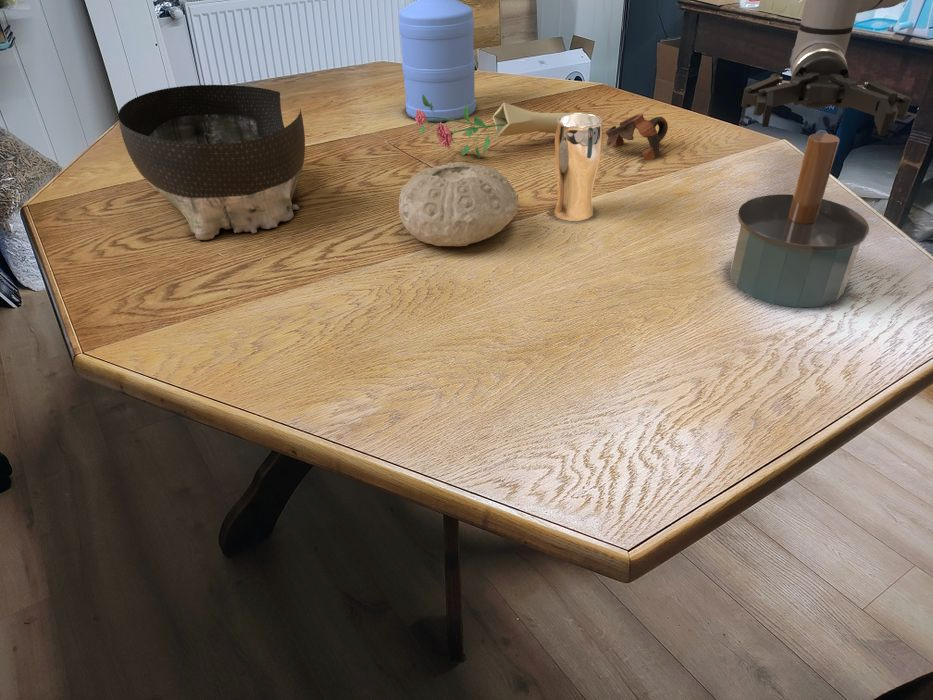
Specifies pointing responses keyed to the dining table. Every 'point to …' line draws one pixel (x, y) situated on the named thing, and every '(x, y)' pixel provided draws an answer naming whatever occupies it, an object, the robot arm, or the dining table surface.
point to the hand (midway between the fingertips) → (825, 120)
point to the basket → (217, 154)
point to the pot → (790, 272)
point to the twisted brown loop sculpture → (644, 129)
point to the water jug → (438, 58)
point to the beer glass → (576, 163)
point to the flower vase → (505, 120)
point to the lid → (806, 208)
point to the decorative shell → (457, 204)
